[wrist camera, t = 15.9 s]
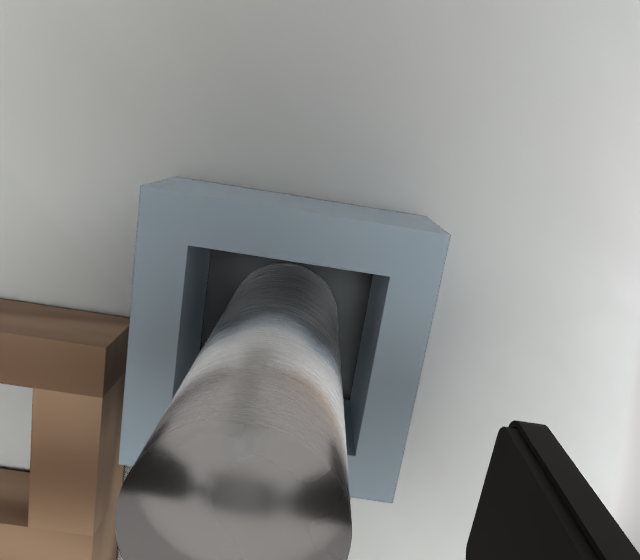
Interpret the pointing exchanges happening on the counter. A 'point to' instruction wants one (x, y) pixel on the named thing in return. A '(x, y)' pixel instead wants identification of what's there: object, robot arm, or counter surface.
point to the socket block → (64, 431)
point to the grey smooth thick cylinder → (250, 437)
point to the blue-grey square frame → (297, 246)
